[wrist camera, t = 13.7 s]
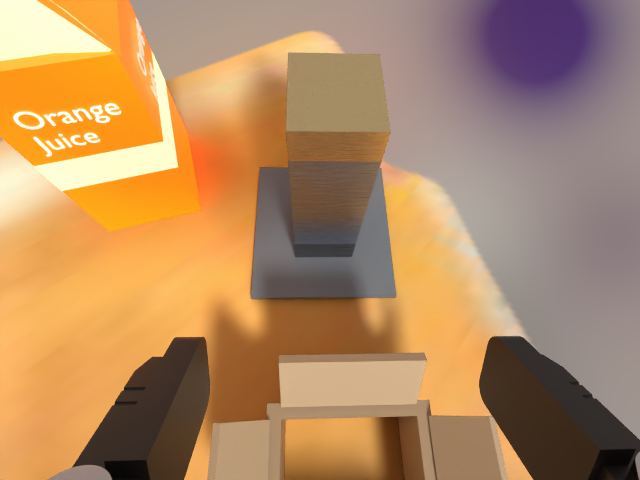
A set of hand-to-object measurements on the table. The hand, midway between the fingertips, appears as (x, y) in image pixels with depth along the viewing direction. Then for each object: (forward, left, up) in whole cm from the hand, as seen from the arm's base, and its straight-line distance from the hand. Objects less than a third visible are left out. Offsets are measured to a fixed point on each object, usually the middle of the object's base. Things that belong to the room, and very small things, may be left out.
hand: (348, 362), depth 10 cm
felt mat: (0, +12, -15) cm, 20 cm away
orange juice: (-15, +17, -16) cm, 28 cm away
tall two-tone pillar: (0, +12, -15) cm, 19 cm away
